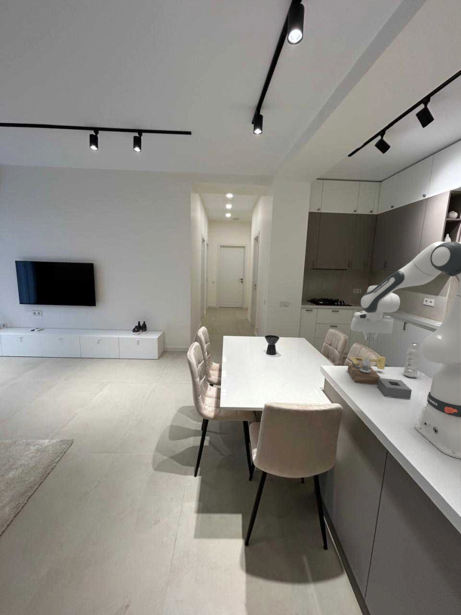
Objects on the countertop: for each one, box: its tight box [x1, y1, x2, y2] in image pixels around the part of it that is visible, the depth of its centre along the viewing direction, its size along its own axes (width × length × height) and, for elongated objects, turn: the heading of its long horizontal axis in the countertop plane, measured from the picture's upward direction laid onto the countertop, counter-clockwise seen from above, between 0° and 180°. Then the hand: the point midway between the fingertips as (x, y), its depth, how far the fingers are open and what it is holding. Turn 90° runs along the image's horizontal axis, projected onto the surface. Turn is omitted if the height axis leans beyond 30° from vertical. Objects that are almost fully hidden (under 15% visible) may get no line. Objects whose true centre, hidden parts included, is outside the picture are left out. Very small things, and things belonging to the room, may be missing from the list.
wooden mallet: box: [350, 355, 387, 370], centre depth 153 cm, size 12×19×7 cm, turn 80°
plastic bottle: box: [403, 342, 421, 378], centre depth 150 cm, size 6×7×20 cm
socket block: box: [347, 361, 381, 386], centre depth 147 cm, size 16×12×6 cm
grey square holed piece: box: [376, 377, 413, 400], centre depth 130 cm, size 11×11×5 cm
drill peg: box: [360, 357, 371, 374], centre depth 143 cm, size 5×5×12 cm
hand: (369, 340), depth 140 cm, fingers closed
